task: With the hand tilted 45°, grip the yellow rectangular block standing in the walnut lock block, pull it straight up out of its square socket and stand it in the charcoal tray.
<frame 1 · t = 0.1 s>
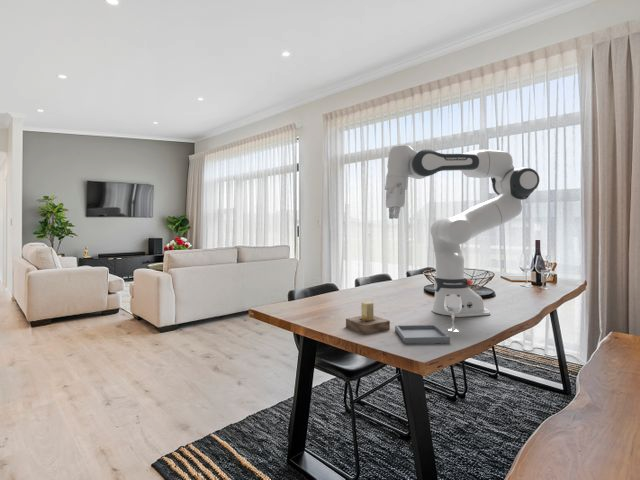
hand: (393, 218, 154), 39 cm above the table, tool pointing down, fingers open, 8 cm apart
wineglass: (452, 330, 130), on the table
lock block: (367, 328, 134), on the table
tray: (421, 336, 123), on the table
yellow rectangular block: (367, 315, 134), in the lock block
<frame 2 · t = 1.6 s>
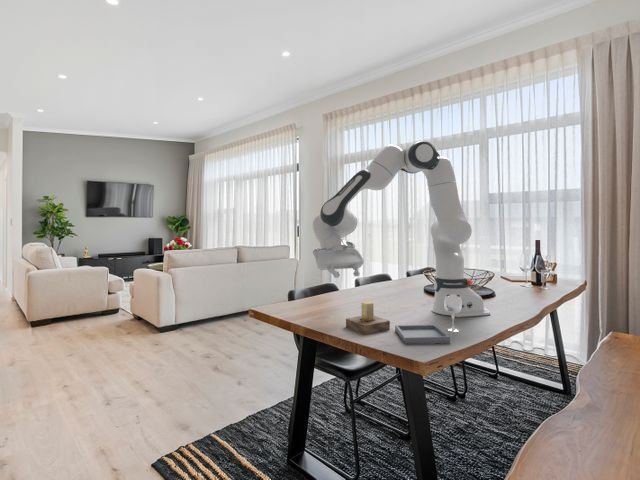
hand: (347, 276, 143), 17 cm above the table, tool tilted 45°, fingers open, 8 cm apart
nothing on the table moved.
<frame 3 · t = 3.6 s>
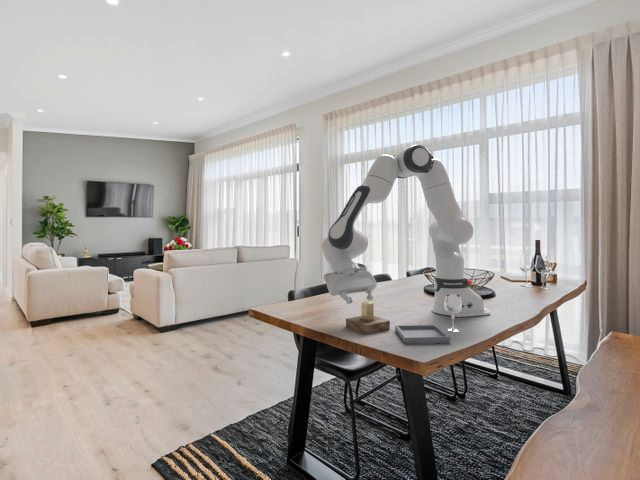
hand: (360, 301, 136), 9 cm above the table, tool tilted 45°, fingers open, 8 cm apart
nothing on the table moved.
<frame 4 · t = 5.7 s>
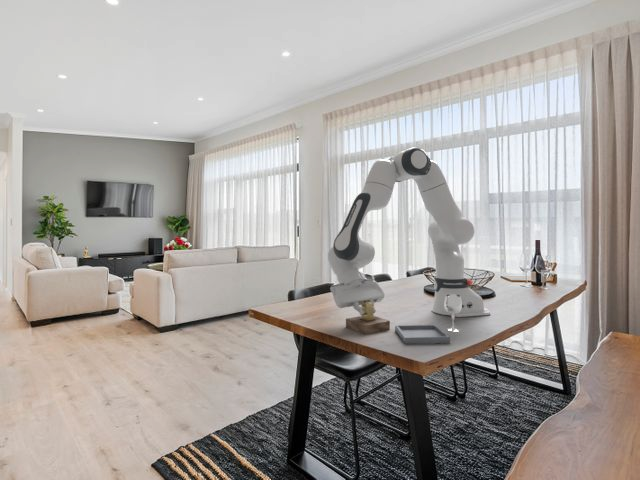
hand: (368, 313, 133), 5 cm above the table, tool tilted 45°, fingers closed on yellow rectangular block, 3 cm apart
yellow rectangular block: (367, 315, 134), in the lock block, touching gripper
everything else where it was.
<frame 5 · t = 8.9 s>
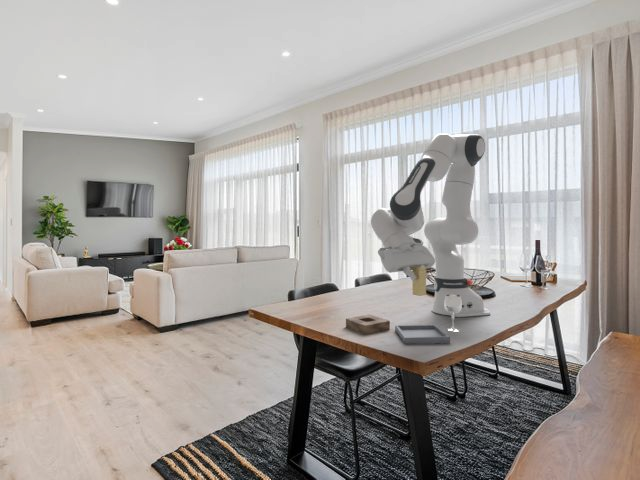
hand: (420, 278, 122), 19 cm above the table, tool tilted 45°, fingers closed on yellow rectangular block, 3 cm apart
yellow rectangular block: (419, 281, 122), point 18 cm above the table, touching gripper
everything else where it was.
when the fingers open (7 cm above the table, at t = 12.1 s): yellow rectangular block drops 1 cm, resting on tray.
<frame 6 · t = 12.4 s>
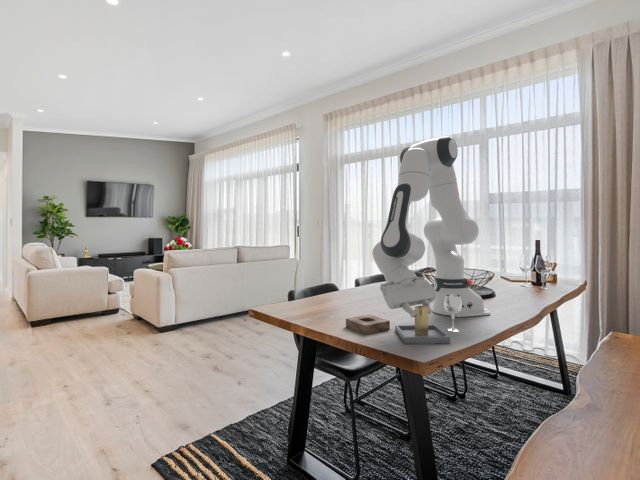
hand: (422, 314, 122), 7 cm above the table, tool tilted 45°, fingers open, 5 cm apart
yellow rectangular block: (421, 320, 123), in the tray, point 5 cm above the table
everything else where it was.
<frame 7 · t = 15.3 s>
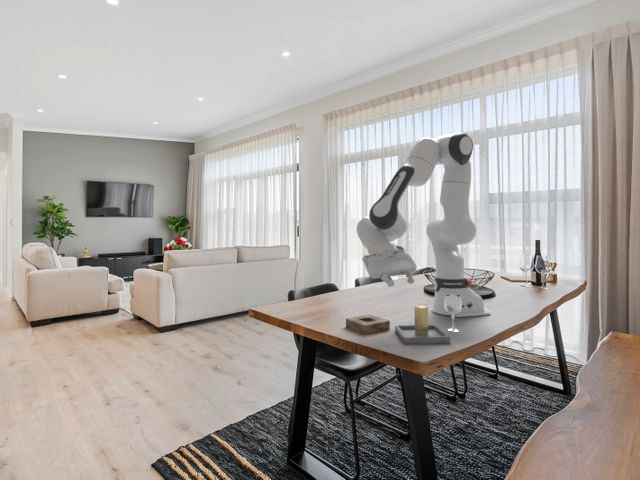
hand: (402, 284, 130), 16 cm above the table, tool tilted 45°, fingers open, 8 cm apart
nothing on the table moved.
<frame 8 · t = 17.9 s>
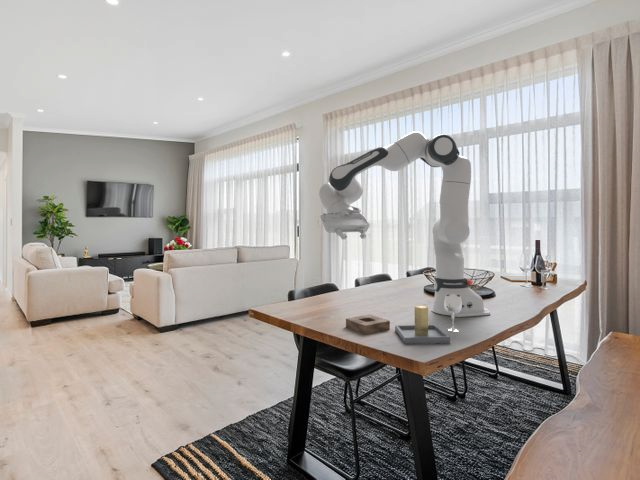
hand: (354, 238, 149), 31 cm above the table, tool tilted 45°, fingers open, 8 cm apart
nothing on the table moved.
at the end: yellow rectangular block inside the target area on the tray (0.1 cm from its centre), point 5.3 cm above the tray's base; yellow rectangular block tilted 0°; the gripper is holding nothing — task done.
